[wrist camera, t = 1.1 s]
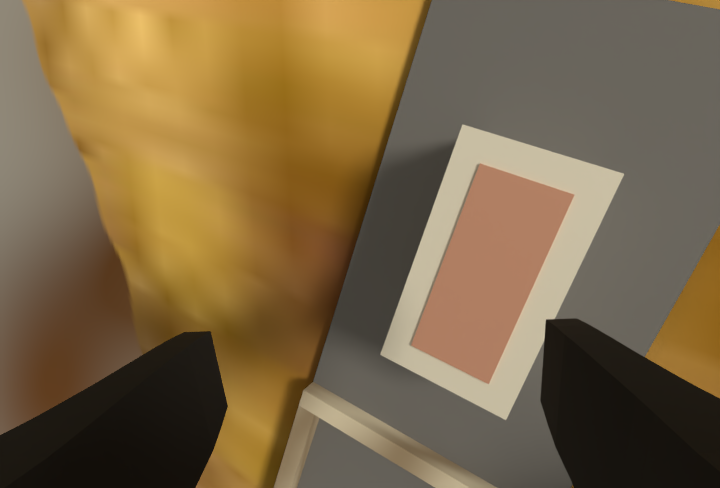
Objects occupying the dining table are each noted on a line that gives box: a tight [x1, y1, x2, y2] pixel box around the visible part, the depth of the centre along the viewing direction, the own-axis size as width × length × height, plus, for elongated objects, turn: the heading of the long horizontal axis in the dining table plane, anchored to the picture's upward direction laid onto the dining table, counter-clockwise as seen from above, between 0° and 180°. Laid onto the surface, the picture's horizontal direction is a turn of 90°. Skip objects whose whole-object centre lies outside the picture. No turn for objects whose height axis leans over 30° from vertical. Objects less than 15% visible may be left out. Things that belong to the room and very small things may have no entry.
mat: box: [297, 0, 720, 488], centre depth 21 cm, size 13×34×1 cm, turn 161°
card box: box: [380, 124, 624, 420], centre depth 17 cm, size 9×5×5 cm, turn 161°
